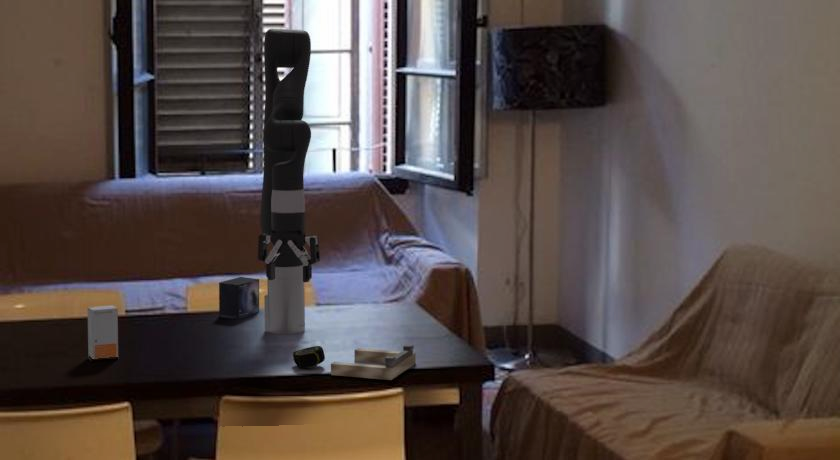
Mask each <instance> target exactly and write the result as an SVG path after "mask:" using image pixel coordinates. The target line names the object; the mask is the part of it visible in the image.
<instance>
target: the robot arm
mask: <svg viewBox="0 0 840 460" xmlns="http://www.w3.org/2000/svg"><path fill="white" fill-rule="evenodd" d="M311 42H312V41H311V37H310V34H309V32H308V31H306V30H304V29H296V28H295V29H291V28H268V30H267V31H266V32H265V34H264V42H263V43H264V44H263V58H264V59H263V61H264V63H263V65H264V88H265V89H264V90H265V91H264V93H265V94H264V97H265V99H264V100H265V101H264V117H263V133H262V142H263V177H262V189H261V190H262V191H261V199H260V200H261V201H260V210H259V211H260V214H259V222H260V223H259V224H260V230H261V231H260V232H261V234H259V235H258V243H257V244H258V245H257V247H258V248H257V260H258V261H261V262H263V263H265V276H266V278H267V283H266V284H267V293H266V294H265V295H264V298H263V299H264V332H265V333H269V334H273V335H281V336H288V335H290V336H291V335H298V334H301V333H304V332H305V331H306V322H305V321H306V309H305V305H306V303H305V302H306V301H305V299H306V297H305V296H306V295H305V283H308V282H310V280H311V279H312V276H313V275H312V274H313V273H312V272H313V271H312V266H313V265H314V264H316V263H320V261H321V254H320V239H319V238H320V237H319V236H318V235H313V236H307V235H306V226H307V225H306V224H307V223H306V222H307V214H306V199H305V190H304V187H305V185H304V174H305V171H304V170H305V162H306V158H307V153H308V150H309V147H310V142H311V140H312V130H311V127H310V125H309V124H308V122H307V121H306V120H303V118H304V98H305V97H304V95H305V88H306V83H307V80H308V75H309V70H310V69H309V68H310V62H311V53H312V52H311V51H312V49H311V48H312V44H311ZM278 68H282V69H286V68H287V69H291V70H290V71H289V72H288V73H287V74H286V75H285V76H284V77H283V78H282V79H281V80H280V77H279V74H278ZM270 242H271V244H272V245H273V248H272V249H271V250H270V252H268V246H269V245H268V244H270ZM306 243H307V246H309V251H308V250H307V249H306V247H305V246H306ZM308 252H310V253H308ZM309 254H310V255H309Z"/></svg>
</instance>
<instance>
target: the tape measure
mask: <svg viewBox="0 0 840 460" xmlns="http://www.w3.org/2000/svg"><path fill="white" fill-rule="evenodd" d="M325 355H326V354H325V351H324V349H323V347H322V346H320V345H314V346H309V347H306V348H302V349H299V350H296V351H293V352H292V357H293V361H294V363H295V365H296V367H297V368H299V369H305V368H306V369H307V368H308V369H311V368H315V367H318V365H320V364H321V363H323V362H324V361H325V359H326V357H325Z"/></svg>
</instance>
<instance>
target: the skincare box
mask: <svg viewBox="0 0 840 460" xmlns="http://www.w3.org/2000/svg"><path fill="white" fill-rule="evenodd" d="M118 316H119V315H118V307H116V306H115V305H111V304H110V305H98V306H89V307H87V341H88V342H87V345H88V346H87V347H88V349H87V350H88V351H87V352H88V357H89V356H90V357H91V358H92V359H98V358H109V357H118V358H119V328H118V327H119V324H118V320H119V318H118Z"/></svg>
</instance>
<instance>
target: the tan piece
mask: <svg viewBox="0 0 840 460" xmlns="http://www.w3.org/2000/svg"><path fill="white" fill-rule="evenodd" d="M402 347H403V348H402V349H403V350H401V351H399V350H398V351H397V350H387V349H386V350H385V349H384V350H383V349H373V348H358V347H357V348H355V349H354V361H355V362H363V361H368V362H367V363H375V362H377V363H379V364H385V365H379V364H367V363H365V364H364V363H354V362H353V363H352V362H341V361H333V362H332V363H330V375H331V376H341V377H350V378H351V377H352V378H363V379H374V380H386V381H392V380H394V379H395V378H397V377H399V375H401V374H402V373H404V372H405V371H407V370H409V369H410V368H411V367H413V366H414V365H415V364H416V352H414V344H405V345H403V346H402Z"/></svg>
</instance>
